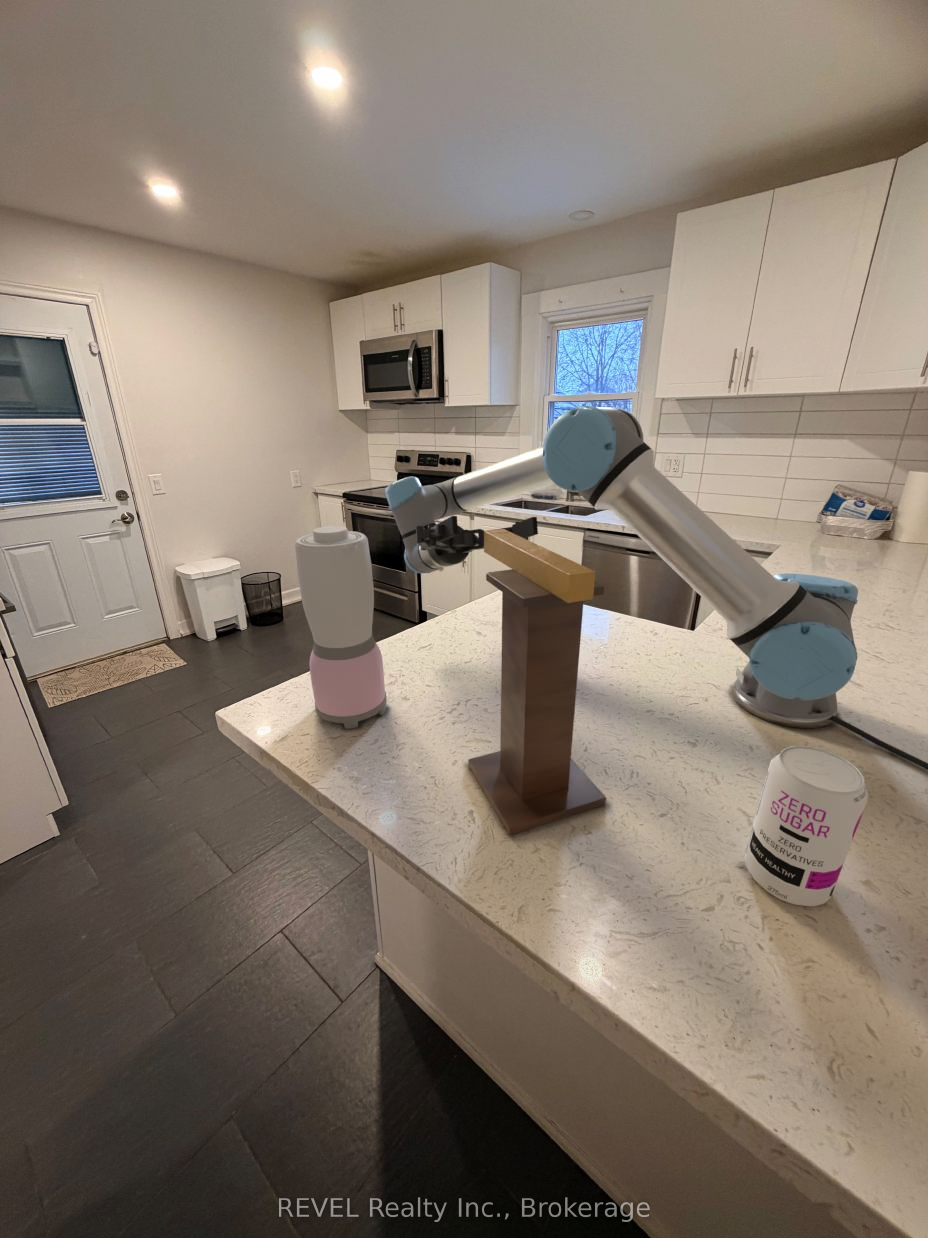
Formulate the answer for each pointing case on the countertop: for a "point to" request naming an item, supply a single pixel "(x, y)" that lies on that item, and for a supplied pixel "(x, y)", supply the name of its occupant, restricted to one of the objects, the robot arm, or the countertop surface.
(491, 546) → the golden brown bar
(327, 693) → the blender
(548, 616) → the brown pedestal stand
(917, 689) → the countertop surface
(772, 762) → the supplement can
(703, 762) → the countertop surface
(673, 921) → the countertop surface
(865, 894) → the countertop surface
